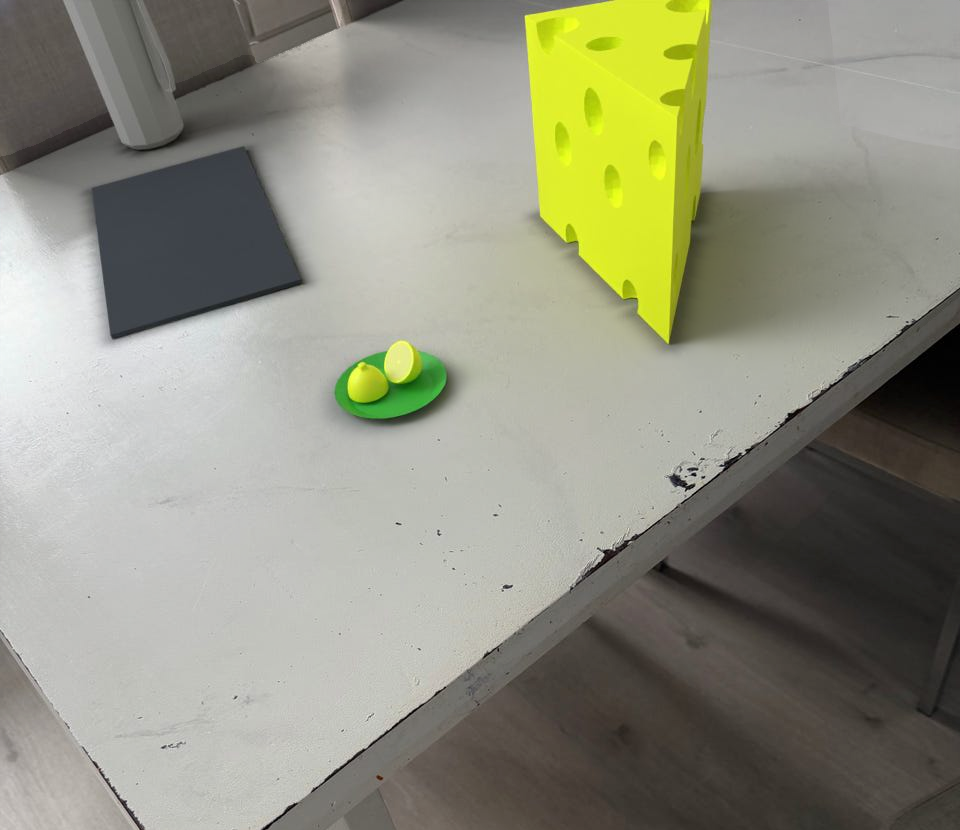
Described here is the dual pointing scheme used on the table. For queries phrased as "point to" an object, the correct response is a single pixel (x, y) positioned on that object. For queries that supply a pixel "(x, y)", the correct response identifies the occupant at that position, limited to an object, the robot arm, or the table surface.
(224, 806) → the table surface
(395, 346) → the lemon
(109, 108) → the water bottle
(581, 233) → the cheese wedge
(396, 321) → the table surface
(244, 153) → the slate mat
